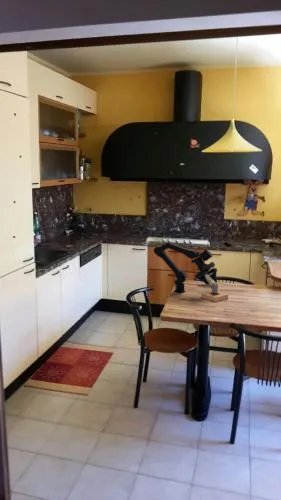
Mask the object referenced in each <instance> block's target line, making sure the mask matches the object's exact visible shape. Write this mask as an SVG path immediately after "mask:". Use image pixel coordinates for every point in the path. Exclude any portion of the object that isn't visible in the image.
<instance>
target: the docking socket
mask: <svg viewBox="0 0 281 500" xmlns="http://www.w3.org/2000/svg"><path fill="white" fill-rule="evenodd" d="M200 296H201V297H200V298H202V299H205V300H208V301H210V302H214V303H216V302H220V301H226V300H228V299H229V293H225V292H222V291H219V290H218V295H212V290H209V291H203V292H201V295H200Z"/></svg>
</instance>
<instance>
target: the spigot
mask: <svg viewBox="0 0 281 500" xmlns="http://www.w3.org/2000/svg"><path fill="white" fill-rule="evenodd" d="M211 291H212V295H218V291H219V284H218V282H217V283H216V282H212V285H211Z"/></svg>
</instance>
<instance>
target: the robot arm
mask: <svg viewBox="0 0 281 500" xmlns="http://www.w3.org/2000/svg"><path fill="white" fill-rule="evenodd" d="M168 249H170V250H172V251H175V252H178V253H180V254H183V256H186V257H187V258H189V259H190V260H191V262H190V264H193V265H194V264H195V267H197V271H198V272H197V273H196V274H195V275H194V278H195V280H198V281H200V282H202V283H204V284H205V283H206V284H207V285H206V286H208V285H209V283H208V281H207V279H206V277H205V275H206V274H208V275H210V277H211V278H212V279H213V280H212V281H213V282H214V283H217V284H218V279H217V275H216V273H218V269H217V268H216V267H215V266H216V264H215V262H214V261H211V262H209V263H208V264H207V263H205V262H208V261H209V260H210V259H212V258H213V254H212V253H211V251H209V250H208V249H207V248H205V249H204V250H203V251H202V252H200V251H197V250H196V249H193V248H185V247H183V246H181V245H178V244H175V243H173V242H171V241H169V242H166V243H165V244H163V245H161V244H160V245H157V246H155V247H154V248H153V252H154V254H155V255H156V256H157V257H159V258H161V260H163V261H164V263H165V264H166V265H167V266H168V267H169V269H171V271H172V272H173V274H174V275H175V278H176V279H175V280H174V284H175V285H174V290H173V292H175V293H179V294H180V293H185V292H186V290H185V282H186V280H187V279H188V274H187V272H186V271H185V270H184V269H180V268H179V267H178V265H176V264H175V262H174V261H173V260H172V259H171V258H170V256H169V255H168V254H167V251H166V250H168Z"/></svg>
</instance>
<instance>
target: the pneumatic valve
mask: <svg viewBox="0 0 281 500" xmlns="http://www.w3.org/2000/svg"><path fill="white" fill-rule="evenodd" d="M217 273H218V272H216V276H217ZM205 277H206V279H207V281H208V283H209V285H207V284H206V283H204V285H205V286H212V283H213V282H212V281H214V280H213V279H212V278H211V277H210V275H208V274H206V275H205Z"/></svg>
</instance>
